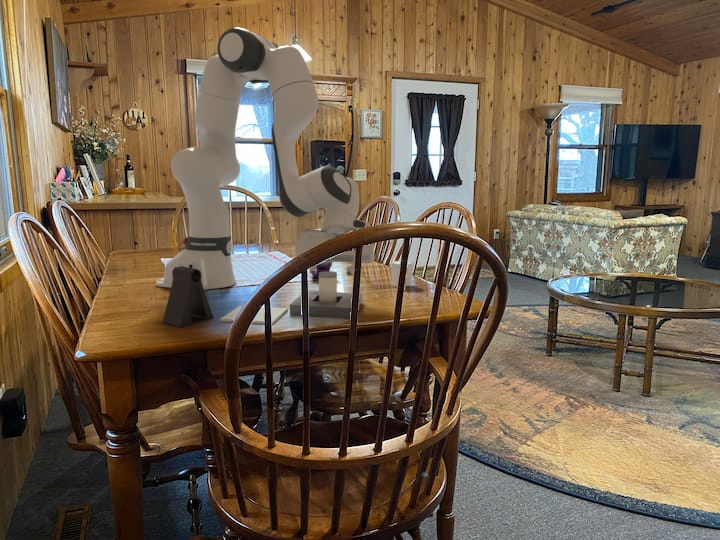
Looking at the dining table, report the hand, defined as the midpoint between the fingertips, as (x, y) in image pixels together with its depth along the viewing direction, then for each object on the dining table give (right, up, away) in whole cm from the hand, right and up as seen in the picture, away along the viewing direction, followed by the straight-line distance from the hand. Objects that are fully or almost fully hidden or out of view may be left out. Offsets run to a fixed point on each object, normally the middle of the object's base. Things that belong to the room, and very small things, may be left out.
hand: (331, 273), depth 131 cm
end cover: (-1, -9, -1) cm, 9 cm away
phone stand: (-31, -11, -13) cm, 35 cm away
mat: (-17, -10, -9) cm, 22 cm away
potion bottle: (-5, -2, +37) cm, 37 cm away
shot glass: (+20, -4, +28) cm, 34 cm away
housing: (-1, -9, -1) cm, 9 cm away
